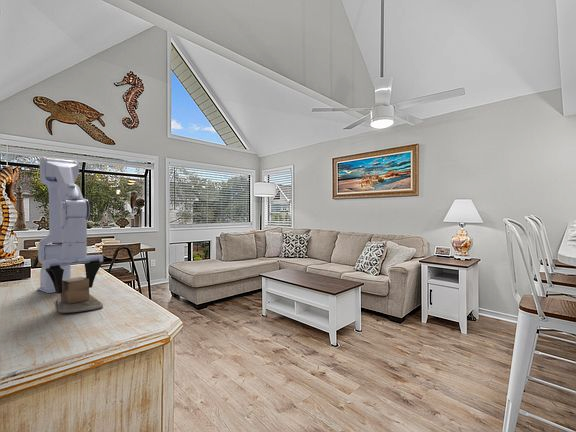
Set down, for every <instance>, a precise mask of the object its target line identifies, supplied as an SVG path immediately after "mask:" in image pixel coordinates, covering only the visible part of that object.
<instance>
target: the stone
mask: <svg viewBox="0 0 576 432" xmlns="http://www.w3.org/2000/svg"><path fill="white" fill-rule="evenodd" d="M56 297H57V298H56V299H57V301H56V302H57V310H58V313H61V314H72V313H78V312H79V313H81V312H85V311H87V312H88V311H93V310H99V309H101V308H103V307H104V303H102V302H101V301H100V300H99V299H97V298H96V297H94V296H93V295H92V294H90V293H89V300H84V301H80V302H76V303H71V304H68V303H65V302H62V301H61V294H59V295H57V296H56Z"/></svg>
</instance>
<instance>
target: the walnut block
mask: <svg viewBox="0 0 576 432" xmlns="http://www.w3.org/2000/svg"><path fill="white" fill-rule="evenodd" d="M89 294H90V288H89V278H86V277H83V276H76V277H71V278H68V279H62V293H60V295H61V301H62V302H65V303H68V304H71V303H76V302H80V301H84V300H89Z"/></svg>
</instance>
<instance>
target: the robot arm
mask: <svg viewBox="0 0 576 432" xmlns="http://www.w3.org/2000/svg"><path fill="white" fill-rule="evenodd" d="M79 174H80V166H79V162H77V160H69V159H67V160H66V159H60V158H53V157H52V158H51V157H50V158H49V157H46V156H43V157H41V158H40V160H39V181H40V183H41V184H43V185H45V186H46V187H47V191H48V224H49V225H48V232H49V233H48V234H47V235H46V236H44V237H43V238H41V239H40V240H39V242H38V248H37V260H38V262H39V263H40V264H41V268H40V272H39V274H40V276H39V277H40V280H39V281H40V282H39V283H40V285H39V287H36V290H38V291H41V292H43V293H46V294H52V293H56V294H59V295H61V293H62V279H68V278H72V277H71V274H72V273H71V270H72V269H71V266H75V265H84V270H85V278H89V289H90V288H91V289H92V288H93V285H94V281H95V278H96V277H97V276H96V275H97V273H98V271H99V270H100V268H101V267H102V262H104V255H103V254H92V255H91V254H90V255H89V254H87V253H88V248H87V247H88V245H87V244H88V241H87V240H88V237H87V236H88V230H87V229H88V220H89V218H90V216H91V215H90V214H91V213H90V212H91V205H90V202H89V200H88V199H86V198H84V196H83V194H82V191H81V188H80V186H79V185H77V184H75V183H76V181H77V179H78V178H79Z"/></svg>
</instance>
